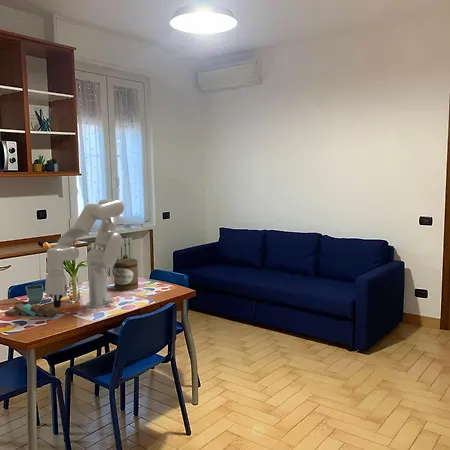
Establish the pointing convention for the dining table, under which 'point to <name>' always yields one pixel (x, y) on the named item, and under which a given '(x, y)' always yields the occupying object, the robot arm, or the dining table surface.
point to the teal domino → (28, 309)
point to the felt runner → (42, 317)
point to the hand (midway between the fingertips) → (57, 307)
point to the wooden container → (125, 274)
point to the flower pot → (35, 293)
